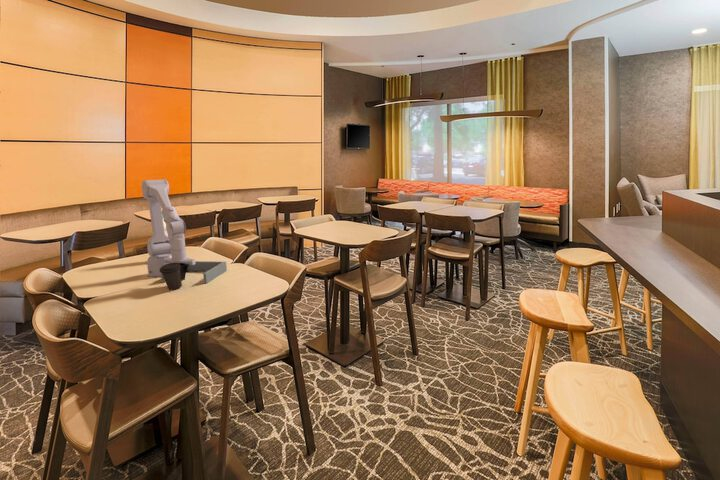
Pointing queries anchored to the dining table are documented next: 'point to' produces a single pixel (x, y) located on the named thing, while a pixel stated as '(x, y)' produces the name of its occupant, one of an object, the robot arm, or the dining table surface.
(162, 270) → the coffee cup
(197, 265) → the gray rectangular arch
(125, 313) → the dining table surface
